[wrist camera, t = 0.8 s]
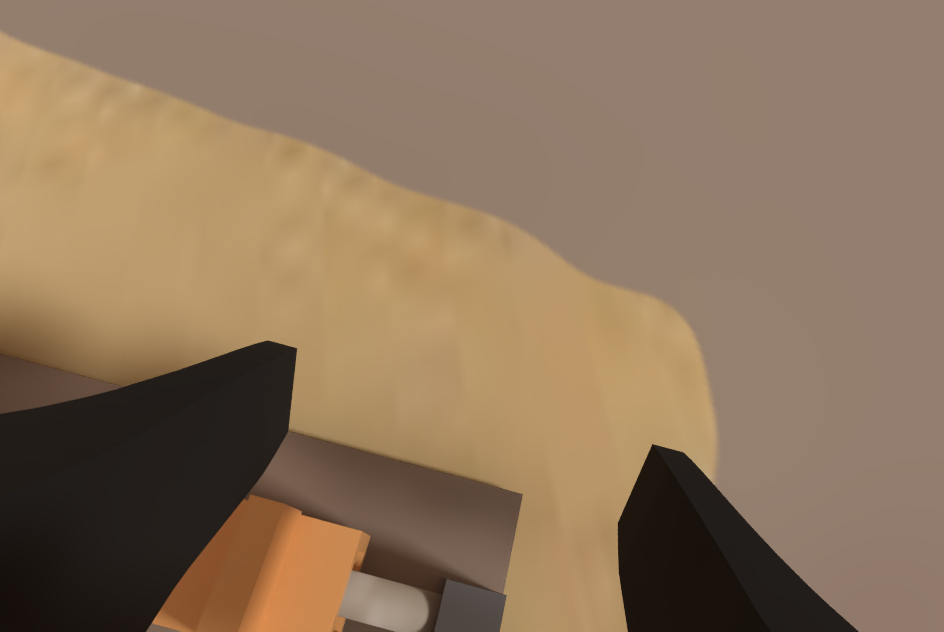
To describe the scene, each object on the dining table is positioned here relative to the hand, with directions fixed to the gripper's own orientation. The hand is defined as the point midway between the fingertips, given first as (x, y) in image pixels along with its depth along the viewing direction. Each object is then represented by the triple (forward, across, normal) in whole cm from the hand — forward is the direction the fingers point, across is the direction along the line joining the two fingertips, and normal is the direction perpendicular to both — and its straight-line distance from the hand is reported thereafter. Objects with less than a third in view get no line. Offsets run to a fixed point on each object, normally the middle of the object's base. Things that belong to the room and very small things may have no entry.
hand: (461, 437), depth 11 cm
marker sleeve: (+5, +5, +11) cm, 13 cm away
